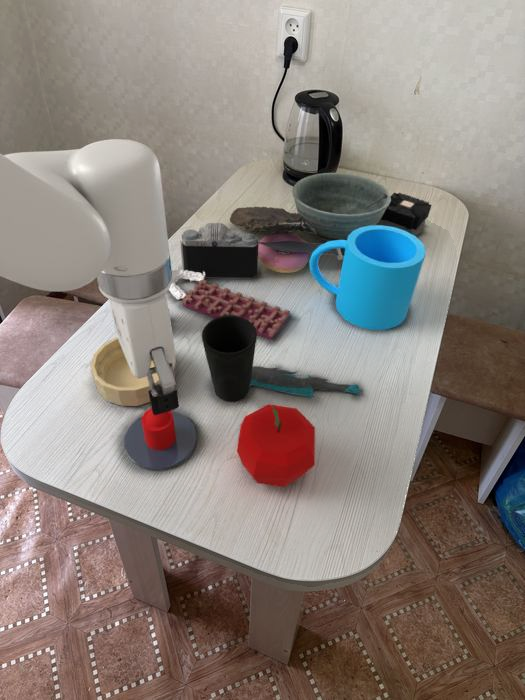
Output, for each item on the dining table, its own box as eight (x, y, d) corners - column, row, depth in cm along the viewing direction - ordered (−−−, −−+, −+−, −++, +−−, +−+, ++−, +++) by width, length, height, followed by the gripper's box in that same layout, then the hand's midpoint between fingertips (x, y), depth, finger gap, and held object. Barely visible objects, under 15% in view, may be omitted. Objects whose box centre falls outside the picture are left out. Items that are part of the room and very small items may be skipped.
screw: (383, 196, 105) (385, 192, 105) (387, 199, 105) (389, 195, 104) (361, 208, 101) (363, 205, 100) (365, 212, 101) (367, 208, 100)
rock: (291, 223, 117) (227, 223, 115) (292, 206, 116) (227, 206, 113) (322, 235, 94) (242, 235, 91) (323, 214, 93) (243, 214, 90)
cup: (255, 408, 76) (256, 355, 67) (205, 406, 76) (198, 353, 67) (256, 369, 81) (257, 315, 72) (209, 368, 81) (204, 314, 72)
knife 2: (358, 409, 77) (361, 385, 80) (359, 404, 76) (362, 381, 80) (205, 378, 80) (214, 356, 84) (204, 373, 80) (214, 352, 83)
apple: (323, 490, 67) (333, 445, 60) (244, 505, 65) (245, 460, 58) (300, 426, 74) (307, 380, 67) (229, 438, 72) (229, 392, 65)
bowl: (334, 269, 103) (342, 226, 96) (270, 226, 115) (272, 184, 108) (400, 238, 113) (411, 197, 106) (335, 201, 124) (341, 161, 117)
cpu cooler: (371, 228, 116) (412, 243, 112) (376, 205, 112) (419, 220, 108) (389, 210, 122) (429, 224, 119) (395, 188, 118) (436, 202, 115)
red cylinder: (150, 454, 69) (145, 429, 65) (141, 431, 72) (136, 406, 68) (179, 444, 70) (176, 419, 66) (170, 422, 73) (166, 396, 69)
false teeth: (181, 266, 100) (181, 258, 98) (207, 281, 99) (208, 272, 97) (156, 291, 96) (155, 282, 94) (182, 306, 95) (182, 298, 93)
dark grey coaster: (135, 481, 66) (135, 479, 66) (116, 425, 73) (116, 423, 72) (206, 455, 70) (206, 453, 69) (183, 404, 76) (182, 401, 76)
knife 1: (389, 266, 106) (381, 249, 109) (393, 260, 105) (385, 243, 108) (258, 256, 95) (253, 237, 98) (261, 249, 94) (256, 230, 97)
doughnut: (316, 272, 103) (320, 256, 100) (267, 281, 100) (269, 264, 97) (295, 240, 110) (298, 224, 106) (248, 247, 106) (250, 230, 103)
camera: (256, 260, 104) (258, 216, 97) (257, 279, 100) (259, 235, 93) (184, 258, 104) (181, 214, 97) (182, 278, 99) (178, 233, 92)
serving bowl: (106, 418, 74) (101, 400, 71) (88, 363, 81) (83, 345, 79) (185, 393, 78) (184, 375, 75) (161, 343, 86) (159, 325, 83)
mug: (412, 296, 98) (431, 236, 89) (398, 338, 89) (418, 276, 80) (316, 270, 103) (325, 210, 94) (294, 308, 94) (301, 246, 85)
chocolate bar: (201, 284, 98) (200, 276, 96) (289, 316, 92) (290, 308, 90) (180, 304, 93) (179, 296, 92) (271, 340, 87) (272, 331, 86)
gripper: (79, 235, 56) (107, 346, 68) (118, 332, 45) (144, 445, 57) (145, 221, 58) (161, 331, 70) (198, 310, 47) (206, 423, 59)
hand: (153, 382), depth 63 cm, fingers open, 9 cm apart
